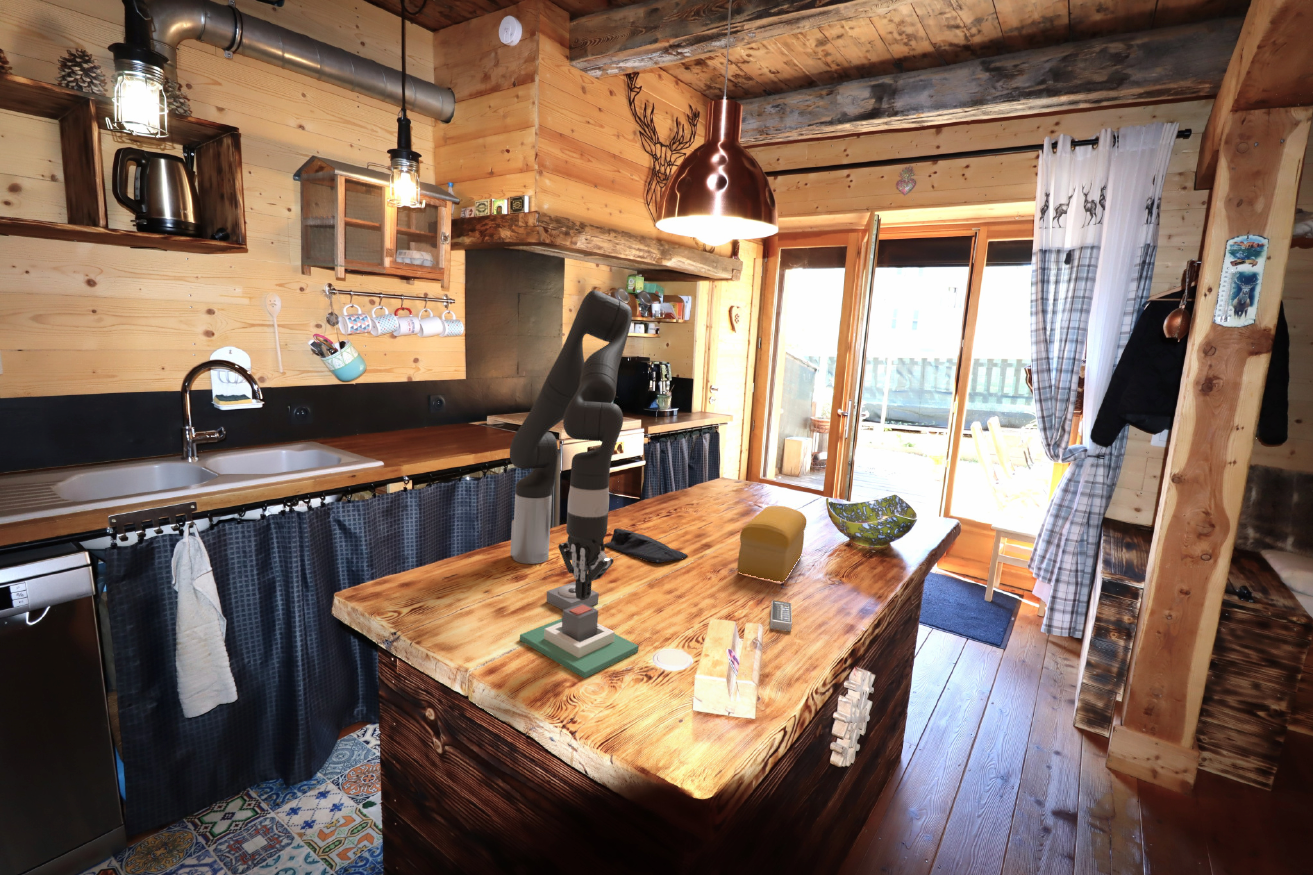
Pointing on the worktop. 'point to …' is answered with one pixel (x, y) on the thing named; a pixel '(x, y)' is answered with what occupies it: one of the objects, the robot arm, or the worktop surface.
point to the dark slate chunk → (642, 547)
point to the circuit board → (579, 648)
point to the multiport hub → (781, 615)
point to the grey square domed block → (569, 597)
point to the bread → (772, 543)
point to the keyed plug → (580, 622)
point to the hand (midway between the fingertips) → (582, 598)
